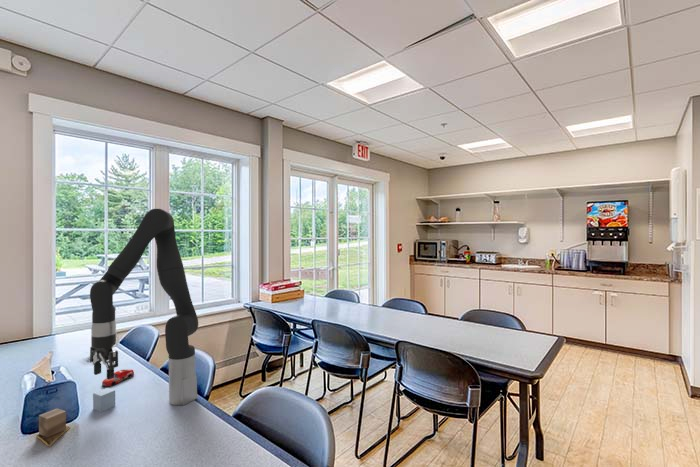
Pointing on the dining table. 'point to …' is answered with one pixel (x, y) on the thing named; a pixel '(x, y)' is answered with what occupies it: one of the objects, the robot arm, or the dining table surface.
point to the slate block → (104, 399)
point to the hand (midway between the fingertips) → (103, 376)
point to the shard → (52, 439)
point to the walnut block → (52, 422)
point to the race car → (118, 377)
